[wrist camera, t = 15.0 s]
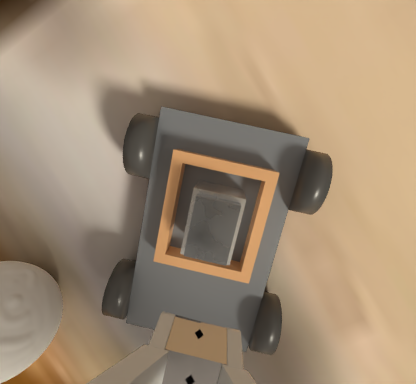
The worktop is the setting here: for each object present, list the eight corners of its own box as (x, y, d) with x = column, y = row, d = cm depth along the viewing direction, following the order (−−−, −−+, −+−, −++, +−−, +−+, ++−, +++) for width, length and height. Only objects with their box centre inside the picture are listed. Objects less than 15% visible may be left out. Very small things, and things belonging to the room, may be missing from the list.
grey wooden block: (229, 245, 25) (229, 271, 20) (187, 236, 25) (177, 259, 20) (243, 190, 24) (247, 202, 19) (199, 180, 24) (192, 189, 19)
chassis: (259, 332, 31) (267, 377, 25) (121, 299, 31) (97, 335, 25) (316, 142, 25) (344, 143, 20) (151, 107, 26) (130, 97, 20)
